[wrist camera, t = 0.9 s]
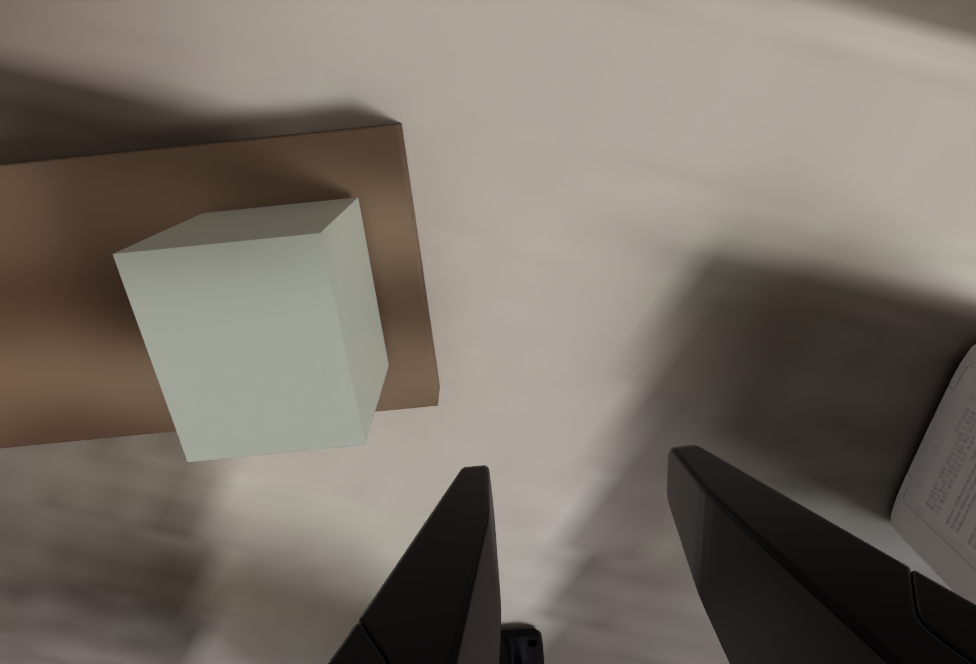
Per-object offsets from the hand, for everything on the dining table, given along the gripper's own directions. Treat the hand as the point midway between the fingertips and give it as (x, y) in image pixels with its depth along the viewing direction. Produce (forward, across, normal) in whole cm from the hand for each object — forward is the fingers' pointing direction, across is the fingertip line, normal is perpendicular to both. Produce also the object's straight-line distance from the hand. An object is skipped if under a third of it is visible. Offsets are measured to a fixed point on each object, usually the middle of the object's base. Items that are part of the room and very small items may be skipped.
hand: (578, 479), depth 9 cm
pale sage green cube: (+11, +7, 0) cm, 13 cm away
